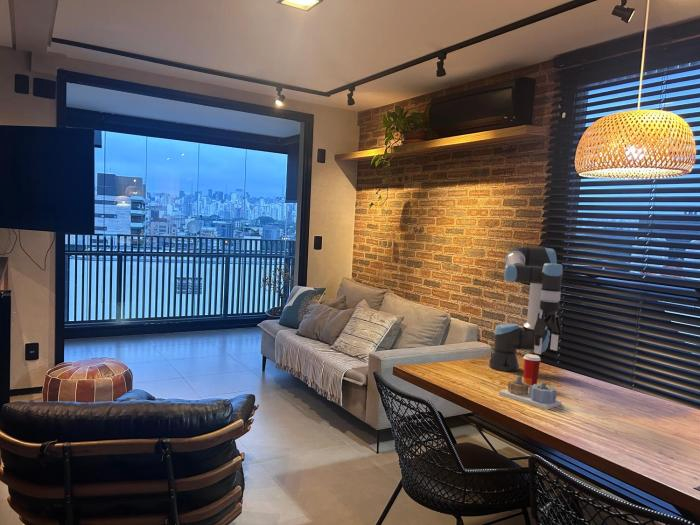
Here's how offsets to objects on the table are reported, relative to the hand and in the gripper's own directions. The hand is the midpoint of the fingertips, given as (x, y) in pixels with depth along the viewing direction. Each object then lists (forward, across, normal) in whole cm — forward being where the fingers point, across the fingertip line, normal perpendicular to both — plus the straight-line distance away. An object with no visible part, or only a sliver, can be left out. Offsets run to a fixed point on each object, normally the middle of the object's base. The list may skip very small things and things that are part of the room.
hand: (545, 351), depth 212 cm
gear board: (+22, 0, -5) cm, 22 cm away
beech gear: (+20, 0, -11) cm, 23 cm away
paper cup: (+22, -20, -16) cm, 34 cm away
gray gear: (+20, 0, 0) cm, 20 cm away
